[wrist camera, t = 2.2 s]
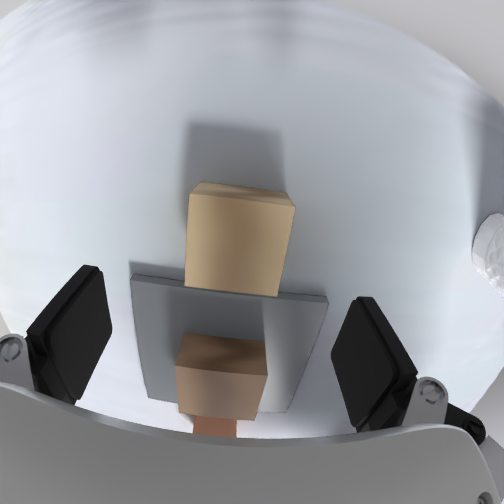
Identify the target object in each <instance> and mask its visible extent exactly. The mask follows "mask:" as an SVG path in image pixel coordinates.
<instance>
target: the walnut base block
mask: <svg viewBox="0 0 504 504" xmlns="http://www.w3.org/2000/svg"><path fill="white" fill-rule="evenodd" d="M175 372H176V385H177V397H178V407H179V413H184V414H191V415H198V416H206V417H214V418H224V419H236V420H252V421H254V420H255V417H256V414H257V411H258V407H259V404H260V401H261V398H262V394H263V391H264V388H265V384H266V381H267V377H268V370H267V358H266V346H265V341H257V340H245V339H235V338H226V337H217V336H209V335H201V334H194V333H187V332H184V333H183V337H182V341H181V345H180V348H179V352H178V356H177V360H176V364H175Z"/></svg>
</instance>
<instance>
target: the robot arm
mask: <svg viewBox="0 0 504 504" xmlns="http://www.w3.org/2000/svg"><path fill="white" fill-rule="evenodd" d="M26 332H27V337H26V338H25V339H24V338H23V336H21V335H19V334H8V335H5V336H3V337H1V338H0V504H501V502H502V500H503V498H504V449H503V448H502V447H501V446H500V445H499V444H498V443H497V442H496V441H495V440H493V439H492V438H491V437H490V436H489V435H488V436H487V437H485V436H486V431H485V427H484V425H483V423H482V422H481V421H480V420H479V419H478V418H476V417H475V416H473V415H471V414H469V413H467V412H465V411H463V410H461V409H459V408H458V407H456V406H454V405H452V404H450V403H448V392H447V390H446V388H445V386H444V385H443V384H442V383H441V382H440V381H438V380H436V379H435V378H432V377H422V378H420V379H418V380H417V378H416V375H417V373H418V371H417V369H416V367H415V366H414V364H413V362H412V360H411V359H410V357H409V355H408V353H407V352H406V350H405V348H404V347H403V345H402V343H401V341H400V340H399V338H398V336H397V335H396V333H395V332H394V330H393V328H392V327H391V325H390V323H389V322H388V320H387V319H386V317H385V315H384V314H383V312H382V311H381V309H380V308H379V306H378V304H377V303H376V301H375V300H374V298H373V297H362V296H359V297H357V298H356V300H353V301H352V303H351V305H350V308H349V310H348V313H347V315H346V318H345V320H344V323H343V325H342V327H341V330H340V332H339V335H338V337H337V339H336V342H335V344H334V346H333V348H332V351H331V360H332V363H333V366H334V369H335V372H336V376H337V379H338V382H339V385H340V388H341V392H342V395H343V398H344V401H345V405H346V408H347V411H348V415H349V418H350V422H351V424H352V426H353V427H356V431H357V433H353V434H345V435H336V436H326V437H313V438H291V439H256V438H234V437H221V436H210V435H201V434H193V433H186V432H179V431H173V430H167V429H161V428H156V427H151V426H146V425H141V424H137V423H133V422H129V421H124V420H121V419H117V418H113V417H109V416H106V415H103V414H99V413H96V412H93V411H90V410H86V409H83V408H80V407H77V406H74V405H75V403H76V401H77V400H80V399H81V397H82V395H83V393H84V391H85V389H86V386H87V384H88V382H89V380H90V378H91V375H92V373H93V371H94V369H95V367H96V365H97V363H98V361H99V359H100V356H101V354H102V352H103V350H104V348H105V346H106V344H107V342H108V340H109V339H110V337H111V334H112V323H111V318H110V313H109V308H108V302H107V296H106V290H105V283H104V276H103V273H102V271H100V270H99V268H98V267H96V266H90V265H83V266H82V267H81V268H80V269H79V270H78V271H77V272H76V273H75V274H74V275H73V276H72V277H71V279H70V280H69V281H68V282H67V283H66V284H65V285H64V286H63V287H62V289H61V290H60V291H59V292H58V293H57V294H56V295H55V297H54V298H53V299H52V300H51V301H50V302H49V304H48V305H47V306H46V307H45V308H44V310H43V311H42V312H41V313H40V314H39V316H38V317H37V318H36V319H35V321H34V322H33V323H32V324H31V326H30V327H29V328H28V330H27V331H26Z"/></svg>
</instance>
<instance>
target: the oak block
mask: <svg viewBox="0 0 504 504" xmlns="http://www.w3.org/2000/svg"><path fill="white" fill-rule="evenodd" d="M294 212H295V205H294V204H293V202H292V201H291V199H290V198H289V196H288V195H287V193H283V192H277V191H270V190H263V189H256V188H248V187H241V186H233V185H224V184H215V183H206V182H200V183H199V184H198V185H197V186H196V187H195V188H194V189H193V190H192V191H191V193H190V194H189V207H188V221H187V238H186V259H185V286H190V287H197V288H205V289H213V290H221V291H230V292H238V293H247V294H257V295H266V296H277V294H278V289H279V285H280V280H281V276H282V271H283V266H284V262H285V257H286V252H287V247H288V242H289V238H290V233H291V228H292V223H293V218H294Z"/></svg>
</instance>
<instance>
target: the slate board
mask: <svg viewBox="0 0 504 504" xmlns="http://www.w3.org/2000/svg"><path fill="white" fill-rule="evenodd" d="M130 285H131V296H132V305H133V314H134V322H135V329H136V336H137V342H138V349H139V355H140V360H141V366H142V371H143V376H144V381H145V386H146V390H147V395H148V398H151V399H156V400H161V401H167V402H172V403H178V397H177V385H176V372H175V364H176V360H177V356H178V352H179V348H180V345H181V341H182V337H183V333H184V332H187V333H194V334H201V335H209V336H217V337H226V338H235V339H245V340H257V341H265V346H266V358H267V370H268V377H267V381H266V384H265V388H264V391H263V394H262V398H261V401H260V404H259V407H258V411H257V412H279V413H286V412H287V410H288V408H289V405H290V403H291V401H292V399H293V396H294V394H295V392H296V389H297V387H298V385H299V382H300V380H301V377H302V375H303V373H304V370H305V368H306V365H307V363H308V360H309V357H310V355H311V352H312V350H313V347H314V344H315V342H316V339H317V336H318V334H319V331H320V328H321V325H322V322H323V320H324V317H325V314H326V311H327V308H328V305H329V302H328V300H327V297H325V296H314V295H302V294H292V293H281V292H278V294H277V296H266V295H257V294H247V293H238V292H230V291H221V290H213V289H205V288H197V287H190V286H185V281H179V280H172V279H165V278H158V277H151V276H144V275H138V274H134V275H133V276H132V278H131V279H130Z"/></svg>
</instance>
